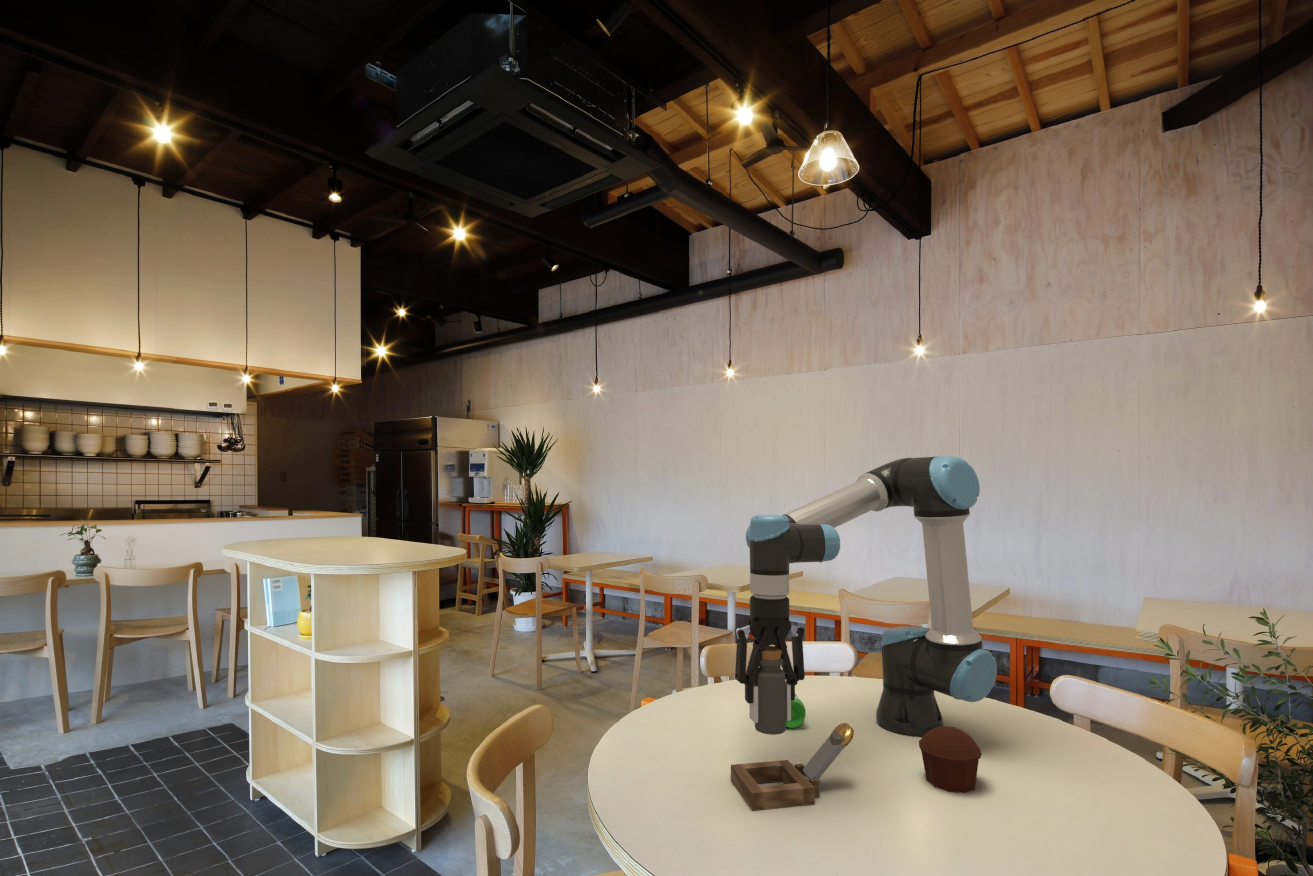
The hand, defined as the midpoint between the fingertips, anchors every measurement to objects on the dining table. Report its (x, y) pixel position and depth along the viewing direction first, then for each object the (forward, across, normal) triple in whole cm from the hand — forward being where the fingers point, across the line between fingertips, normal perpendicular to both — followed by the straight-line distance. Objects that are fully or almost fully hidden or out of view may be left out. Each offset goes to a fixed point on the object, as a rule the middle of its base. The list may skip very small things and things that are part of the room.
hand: (770, 718), depth 122 cm
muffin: (+14, -36, +3) cm, 39 cm away
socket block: (+13, 0, 0) cm, 13 cm away
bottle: (+2, 0, 0) cm, 2 cm away
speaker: (+14, -18, -37) cm, 44 cm away
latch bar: (+7, -12, 0) cm, 14 cm away
